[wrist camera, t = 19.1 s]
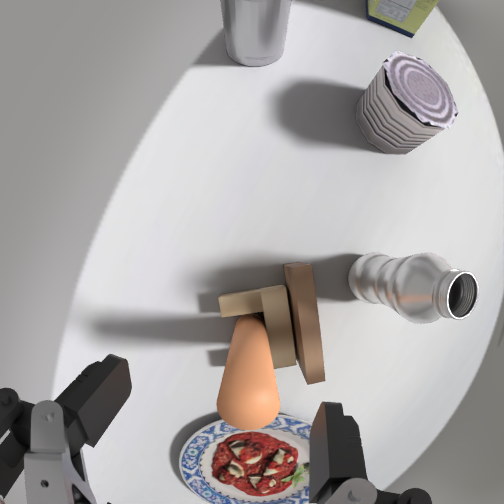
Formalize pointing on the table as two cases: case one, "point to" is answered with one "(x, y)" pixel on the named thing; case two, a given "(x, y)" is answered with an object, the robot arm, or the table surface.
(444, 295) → the plastic bottle
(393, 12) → the protein box
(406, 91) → the can
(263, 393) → the dowel
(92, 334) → the table surface
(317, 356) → the wall
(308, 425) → the ceramic plate
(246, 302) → the block
